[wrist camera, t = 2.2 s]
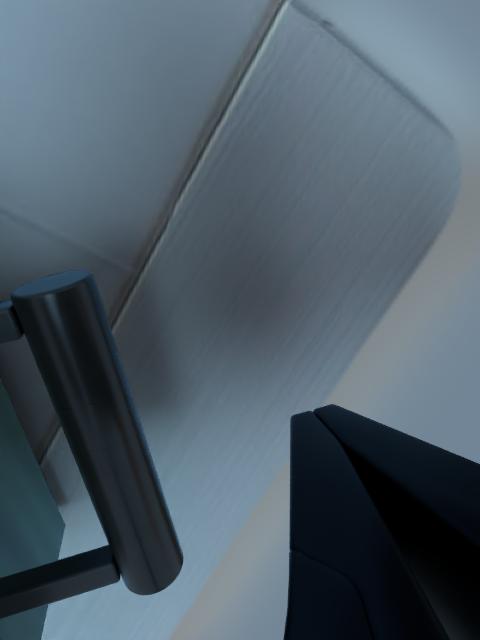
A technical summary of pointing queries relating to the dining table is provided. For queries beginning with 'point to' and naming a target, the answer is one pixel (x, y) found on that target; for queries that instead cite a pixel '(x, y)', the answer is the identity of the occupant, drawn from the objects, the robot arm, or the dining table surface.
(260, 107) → the dining table surface
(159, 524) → the drawer
